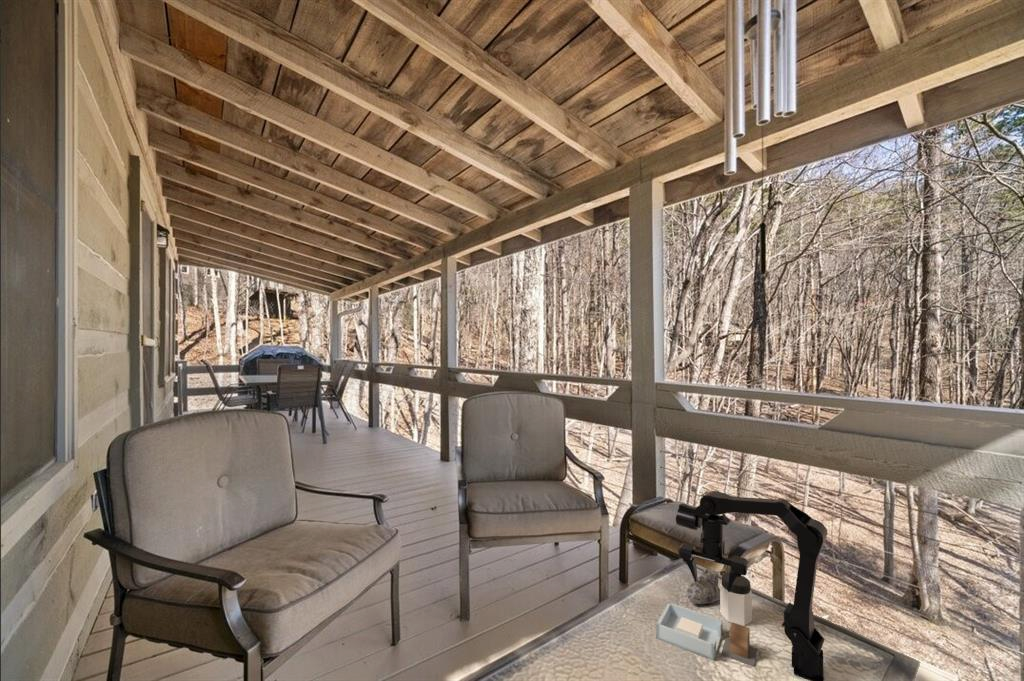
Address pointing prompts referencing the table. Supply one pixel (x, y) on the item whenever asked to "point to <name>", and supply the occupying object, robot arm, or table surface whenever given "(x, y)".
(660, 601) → the table surface
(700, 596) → the mineral rock
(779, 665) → the table surface
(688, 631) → the access box
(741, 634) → the walnut block
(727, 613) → the jar
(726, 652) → the rubber mat
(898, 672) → the table surface
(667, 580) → the table surface
